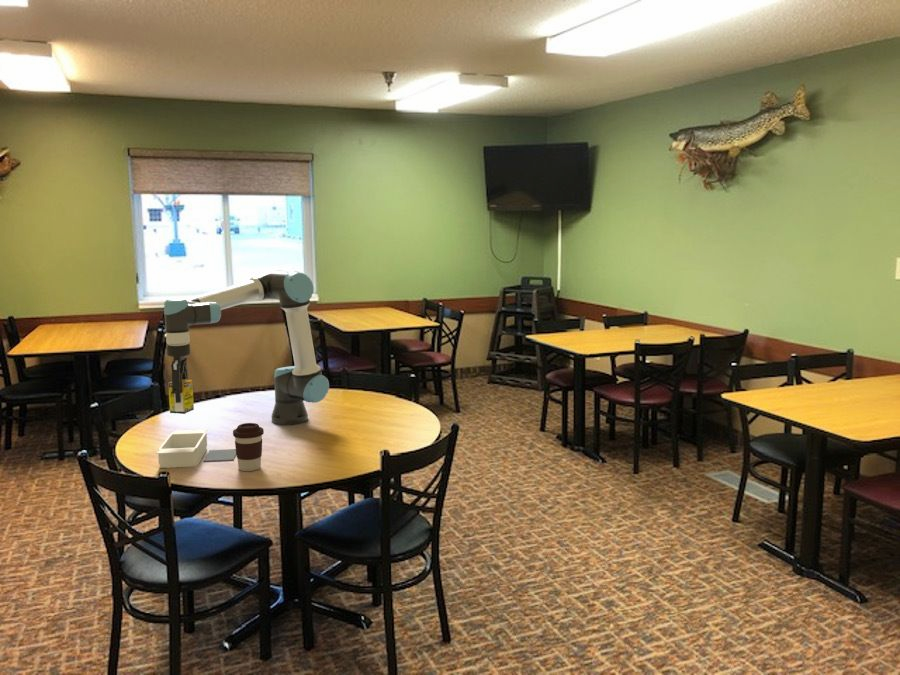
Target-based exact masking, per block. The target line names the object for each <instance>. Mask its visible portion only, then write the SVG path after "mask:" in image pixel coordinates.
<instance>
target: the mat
mask: <svg viewBox="0 0 900 675" xmlns="http://www.w3.org/2000/svg"><path fill="white" fill-rule="evenodd" d="M236 457H237V456H236V448H229V449H227V448H226V449H209V451H208V452H207V454H206V456H205V458H204V460H203V462H204V463H209V462H211V463H212V462H231V461H234V460H235V458H236Z"/></svg>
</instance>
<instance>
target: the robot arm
mask: <svg viewBox="0 0 900 675" xmlns="http://www.w3.org/2000/svg"><path fill="white" fill-rule="evenodd" d="M313 294H314V284H313V281H312V280H311V277H310V276H308V275H307V274H305V273H304V272H300V271H296V270H294V271H292V270H291V271H290V270H287V271H286V270H275V271H274V270H273V271H270V272H267V273H263V274H261V275H257V276H254V277H251V278H250V279H249V281H246V282H245V281H244V282H242V283H239V284H236V285H235V284H234V285H231V286H227V287H226V288H225V287H224V288H222V289H218V290H214V291H211V292H207V293H203V294H201V295H196V296H194V297H190V298H186V299H185V298H170V299H166V300H165V301H164V305H163V306H164V307H163V310H164V311H163V314H164V324H165V326H164V327H165V334H164V336H163V337H164V338H166V339H165V340H166V344H167V345H166V355H167V356H168V357H172V358H173V361H172V363H171V365H170V367H171V382H172V392H171V393H172V394H173V393H174V402H175V412H181V411H184V406H183V392H182V379H184V380H189V374H188V373H189V371H188V358H187V356H189V355H190V354H191V345H190V344H189V343H190V342H191V341H190V338H191V337H190V326H195V325H198V326H199V325H208V324H215V323H218V322H219V321H220V319H222V318H221V317H222V310H226V309H229V308H232V307H235V306H239V305H241V304H245V303H249V302H252V301H257V302H260V301H263V300H264V301H265V300H278V301H279V304H280V305H279V306H280V309H282V310H283V311H284V312H285V316H286V322H287V328H288V329H287V330H288V335H289V340H290V341H289V342H290V346H291V352H292V356H293V362H294V365H292V366H291V365H290V366H283V367H278V368H276V369H275V370H274V374H273V377H274V378H273V379H274V380H273V381H274V400H275V402H274V407H273V410H272V413H271V422H272V423H274V424H276V425H286V426H287V425H289V426H290V425H298V424H301V422H302V423H305V422H307V421H308V420H309V414H308V411H307V408H306V406H305V402H306V403H312V404H315V403H320V402H321V401H322V400H324V399H325V398H326V396H327V394H328V393H329V391H330V390H329V389H330V383H329V382H330V381H329V380H328V377H326V376H325V375H323V374H322V369H321V366H320V365H318V364H317V359H316V355H315V348H314V342H313V336H312V329H311V323H310V318H309V312H308V307H310V306H309V305H310V304H311V300H310V299H312V296H313ZM307 419H308V420H307ZM306 420H307V421H306ZM304 421H305V422H304ZM297 423H298V424H297Z"/></svg>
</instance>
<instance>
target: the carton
mask: <svg viewBox="0 0 900 675" xmlns="http://www.w3.org/2000/svg"><path fill="white" fill-rule="evenodd" d="M207 431H208V430H207V428H206V429H186V430H185V429H183V430H173V431H172V433H170V434H169V435H168V436H167V438H166V439H165V440H164V441H163V442H162V443H161V445H160V446H159V448H158V449H157V452H156V455H158V464H159V469H164V468H165V469H166V468H167V469H168V468H186V467H187V468H188V467H189V468H190V467H198V466H199V464H200V462H201V460H202V459H203V457H204V455H205V453H206V451H207V448H208V436H207V435H208V434H207Z"/></svg>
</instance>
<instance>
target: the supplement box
mask: <svg viewBox="0 0 900 675" xmlns="http://www.w3.org/2000/svg"><path fill="white" fill-rule="evenodd" d="M167 383H168V385H167V386H168V401H169V403H168V404H169V413H170V414H181V415H186V414H187V413H190V412H191V411H194V409H195V408H194V407H195V405H194V404H195V403H194V387H193V386H194V385H193V379H188V380H184V379H182V392H183V406H184V411H181V412H175V402H174V393H173V394H172V393H171V392H172V381H170V382H169V381H168V382H167Z"/></svg>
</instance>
